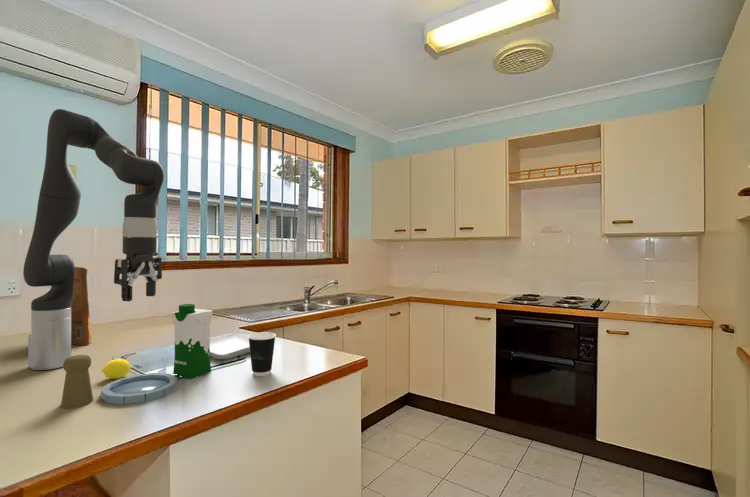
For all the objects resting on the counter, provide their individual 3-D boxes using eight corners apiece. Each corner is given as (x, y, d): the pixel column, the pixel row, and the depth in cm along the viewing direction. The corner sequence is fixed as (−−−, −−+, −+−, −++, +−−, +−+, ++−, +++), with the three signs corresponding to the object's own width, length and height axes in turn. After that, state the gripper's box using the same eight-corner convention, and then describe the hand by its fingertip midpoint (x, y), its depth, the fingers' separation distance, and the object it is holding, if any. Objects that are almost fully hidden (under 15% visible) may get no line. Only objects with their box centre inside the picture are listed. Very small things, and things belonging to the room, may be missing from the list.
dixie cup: (249, 379, 107) (249, 339, 107) (245, 370, 114) (246, 333, 114) (278, 375, 110) (278, 337, 110) (273, 367, 118) (273, 331, 117)
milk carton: (167, 376, 109) (168, 305, 108) (195, 367, 117) (195, 300, 117) (190, 381, 105) (190, 307, 105) (216, 371, 113) (217, 303, 113)
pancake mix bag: (75, 348, 135) (76, 268, 135) (55, 340, 146) (55, 265, 145) (98, 344, 141) (98, 267, 140) (76, 336, 151) (77, 264, 151)
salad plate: (273, 349, 138) (273, 340, 138) (221, 365, 120) (221, 354, 120) (234, 340, 150) (234, 332, 150) (182, 353, 132) (182, 343, 132)
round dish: (84, 401, 91) (84, 393, 91) (135, 378, 107) (135, 371, 107) (146, 406, 89) (147, 398, 89) (189, 381, 105) (189, 375, 105)
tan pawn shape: (75, 409, 87) (75, 360, 86) (53, 407, 88) (53, 358, 88) (99, 399, 92) (100, 353, 92) (78, 396, 94) (79, 351, 93)
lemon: (125, 375, 111) (128, 355, 111) (133, 379, 107) (136, 359, 108) (96, 378, 105) (100, 358, 106) (103, 382, 102) (107, 362, 102)
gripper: (145, 235, 107) (145, 294, 107) (104, 234, 93) (103, 302, 93) (171, 236, 106) (170, 295, 107) (133, 235, 92) (132, 303, 92)
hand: (139, 298), depth 100 cm, fingers open, 8 cm apart
